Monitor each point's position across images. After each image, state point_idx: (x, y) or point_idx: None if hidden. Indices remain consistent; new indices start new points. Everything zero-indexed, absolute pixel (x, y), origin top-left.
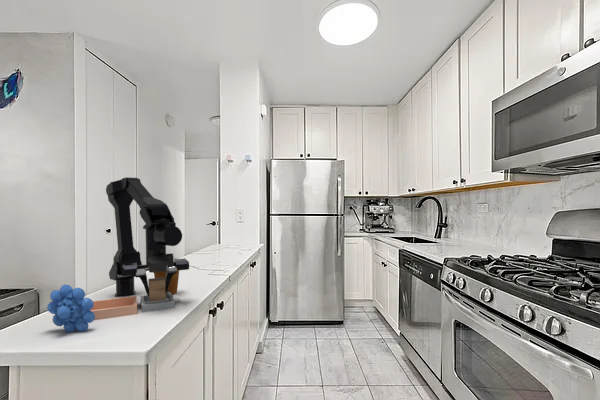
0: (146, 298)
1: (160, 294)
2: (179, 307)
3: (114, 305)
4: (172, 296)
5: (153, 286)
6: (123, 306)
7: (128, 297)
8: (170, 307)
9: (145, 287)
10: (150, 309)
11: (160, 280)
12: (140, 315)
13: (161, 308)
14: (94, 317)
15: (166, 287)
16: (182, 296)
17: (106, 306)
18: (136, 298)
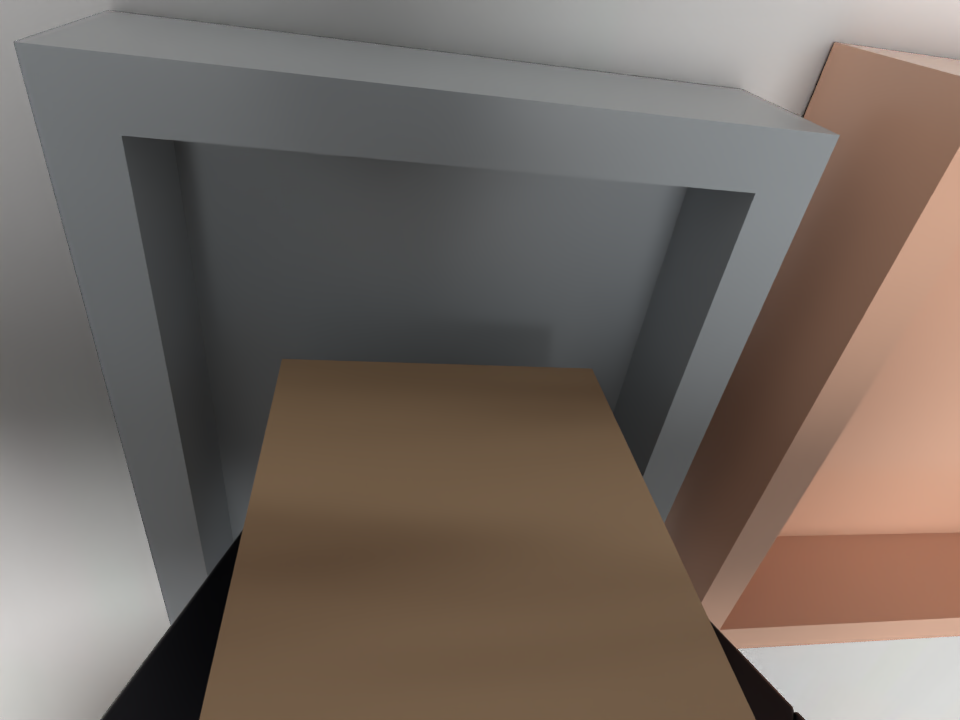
0: None
1: (386, 450)
2: (21, 134)
3: (874, 550)
4: (136, 478)
5: (604, 652)
6: None
7: (779, 624)
8: (198, 36)
9: (752, 679)
10: (625, 88)
11: None
12: (780, 44)
13: (402, 60)
14: None
15: (204, 646)
16: (58, 645)
17: (947, 547)
18: (734, 547)
